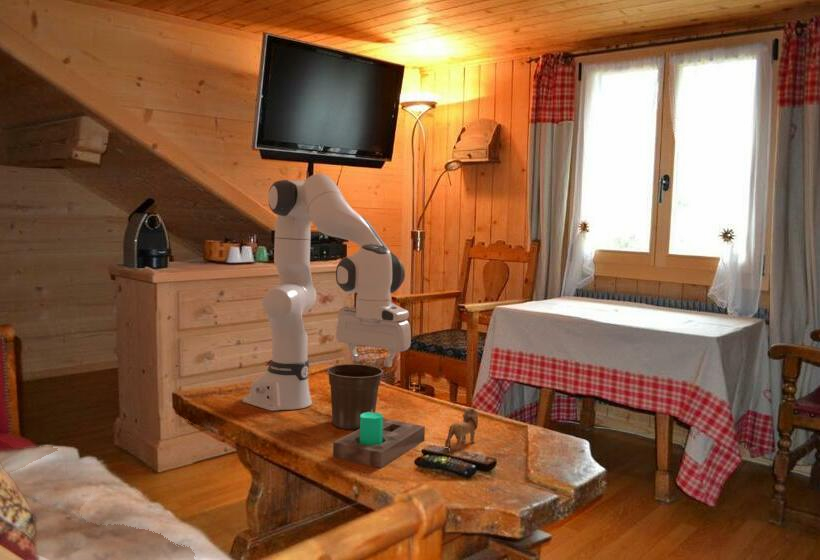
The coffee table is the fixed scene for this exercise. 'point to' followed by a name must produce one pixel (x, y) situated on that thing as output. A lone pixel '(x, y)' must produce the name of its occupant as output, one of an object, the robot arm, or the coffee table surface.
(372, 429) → the candle
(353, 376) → the plant pot
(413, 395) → the coffee table surface
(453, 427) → the lion figurine
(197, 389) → the coffee table surface
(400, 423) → the socket block
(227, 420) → the coffee table surface
